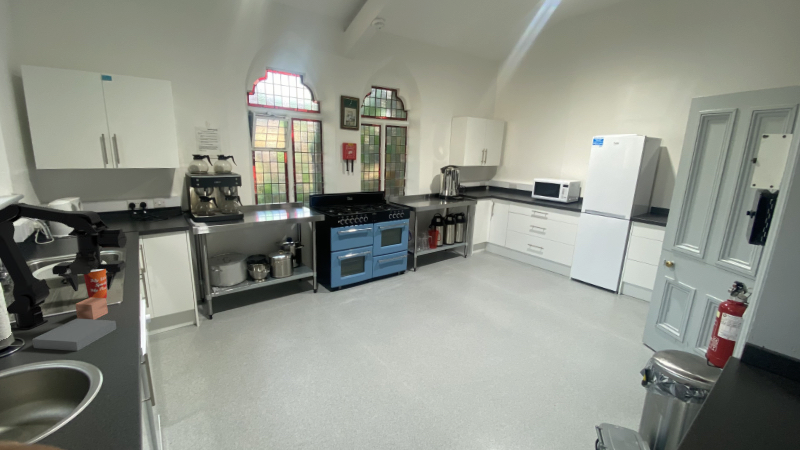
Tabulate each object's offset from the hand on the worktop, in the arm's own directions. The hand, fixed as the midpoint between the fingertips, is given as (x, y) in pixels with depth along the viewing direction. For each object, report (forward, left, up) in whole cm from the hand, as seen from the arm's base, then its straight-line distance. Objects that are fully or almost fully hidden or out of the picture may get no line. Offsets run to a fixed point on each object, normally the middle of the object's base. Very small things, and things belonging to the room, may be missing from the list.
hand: (93, 290), depth 122 cm
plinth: (+4, -12, -12) cm, 17 cm away
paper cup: (-17, +18, -12) cm, 27 cm away
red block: (-5, +3, -12) cm, 13 cm away
